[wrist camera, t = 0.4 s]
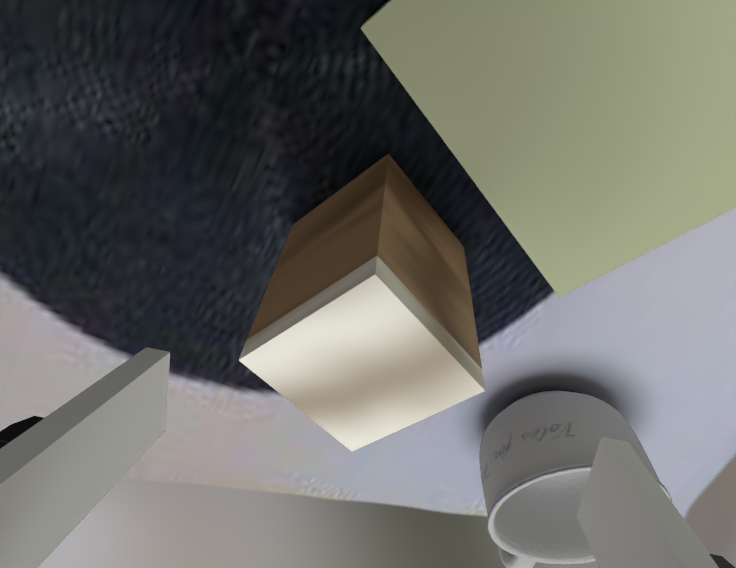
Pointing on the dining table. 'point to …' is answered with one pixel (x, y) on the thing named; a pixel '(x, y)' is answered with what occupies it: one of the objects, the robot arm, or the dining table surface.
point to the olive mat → (578, 116)
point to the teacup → (546, 474)
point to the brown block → (369, 312)
